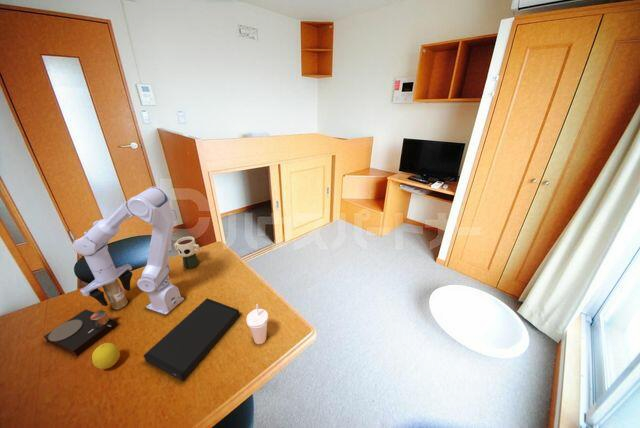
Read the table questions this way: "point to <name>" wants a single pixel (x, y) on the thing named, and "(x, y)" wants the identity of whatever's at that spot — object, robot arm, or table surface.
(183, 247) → the character mug
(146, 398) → the table surface
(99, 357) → the lemon
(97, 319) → the cupcake
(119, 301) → the sprinkles bottle
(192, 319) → the external hard drive
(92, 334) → the hob
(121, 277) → the robot arm
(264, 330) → the smoothie
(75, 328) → the burner
